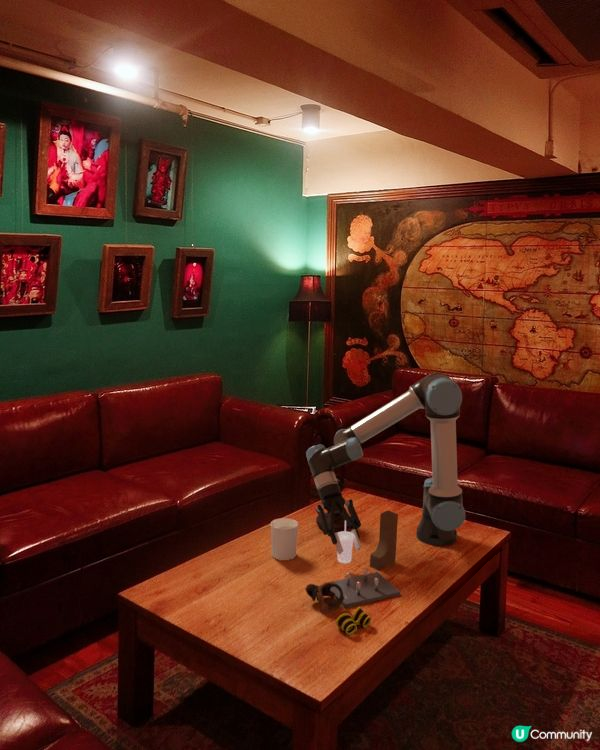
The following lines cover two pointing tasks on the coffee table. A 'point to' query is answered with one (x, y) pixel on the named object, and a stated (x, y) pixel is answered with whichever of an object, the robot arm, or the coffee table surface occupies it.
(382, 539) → the wooden block
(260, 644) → the coffee table surface
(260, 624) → the coffee table surface
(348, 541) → the beverage cup
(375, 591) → the cup stand
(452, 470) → the robot arm
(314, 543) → the coffee table surface
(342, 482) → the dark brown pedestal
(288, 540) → the candle holder
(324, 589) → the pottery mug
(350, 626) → the opera glasses
